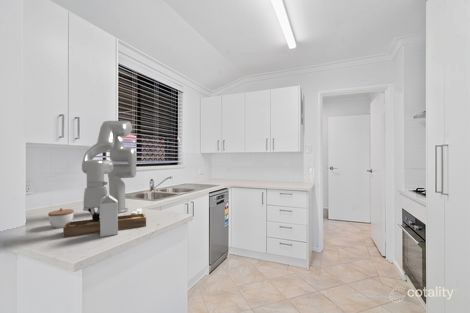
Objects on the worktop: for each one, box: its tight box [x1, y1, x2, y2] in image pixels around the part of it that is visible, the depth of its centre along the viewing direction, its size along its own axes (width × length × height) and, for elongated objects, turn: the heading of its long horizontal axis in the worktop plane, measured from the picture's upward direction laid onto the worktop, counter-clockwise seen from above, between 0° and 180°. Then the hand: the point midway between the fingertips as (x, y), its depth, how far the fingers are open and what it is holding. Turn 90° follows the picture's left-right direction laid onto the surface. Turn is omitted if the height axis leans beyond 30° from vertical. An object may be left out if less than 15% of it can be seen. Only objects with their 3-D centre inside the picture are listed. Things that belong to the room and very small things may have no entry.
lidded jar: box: [47, 207, 74, 229], centre depth 120 cm, size 11×11×9 cm
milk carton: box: [99, 193, 119, 238], centre depth 107 cm, size 7×7×19 cm
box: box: [62, 212, 147, 238], centre depth 115 cm, size 10×35×4 cm, turn 116°
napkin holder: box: [130, 208, 143, 215], centre depth 132 cm, size 15×11×6 cm
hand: (96, 221), depth 115 cm, fingers closed
